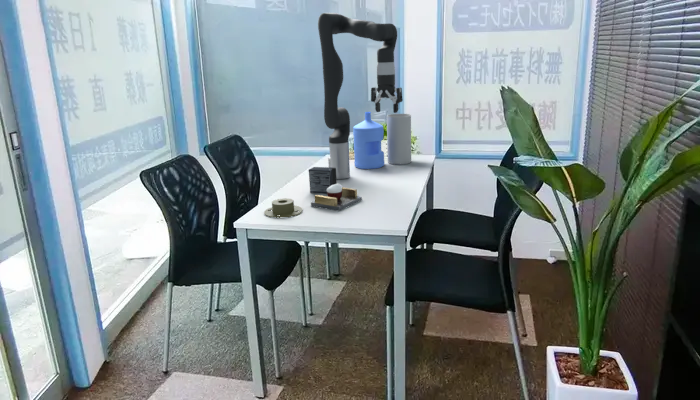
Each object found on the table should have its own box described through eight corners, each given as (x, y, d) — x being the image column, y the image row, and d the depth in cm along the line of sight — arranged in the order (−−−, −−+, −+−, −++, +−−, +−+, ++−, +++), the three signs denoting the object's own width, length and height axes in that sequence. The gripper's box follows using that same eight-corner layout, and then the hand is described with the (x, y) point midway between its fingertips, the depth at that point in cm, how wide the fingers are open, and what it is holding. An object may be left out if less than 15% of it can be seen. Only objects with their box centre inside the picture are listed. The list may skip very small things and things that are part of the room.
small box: (337, 190, 238) (336, 166, 235) (332, 194, 232) (330, 170, 229) (315, 188, 241) (313, 166, 238) (309, 192, 235) (307, 169, 232)
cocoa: (337, 203, 213) (336, 175, 209) (323, 202, 215) (322, 173, 211) (346, 196, 221) (346, 168, 217) (332, 194, 224) (331, 167, 220)
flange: (307, 196, 214) (271, 195, 217) (294, 207, 200) (257, 206, 203) (307, 207, 215) (272, 206, 219) (295, 219, 201) (258, 218, 205)
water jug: (348, 167, 278) (346, 113, 270) (365, 161, 290) (363, 109, 282) (374, 170, 269) (372, 114, 261) (390, 164, 282) (388, 110, 274)
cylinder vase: (384, 164, 282) (383, 116, 275) (391, 159, 293) (390, 113, 286) (407, 165, 277) (407, 117, 270) (414, 160, 288) (413, 113, 281)
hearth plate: (310, 206, 216) (310, 195, 214) (334, 196, 228) (333, 185, 227) (339, 210, 208) (338, 199, 207) (361, 200, 220) (361, 189, 219)
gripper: (405, 72, 224) (405, 111, 228) (376, 72, 232) (377, 110, 236) (396, 74, 218) (396, 114, 223) (366, 74, 226) (368, 112, 231)
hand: (386, 112), depth 229 cm, fingers open, 8 cm apart
